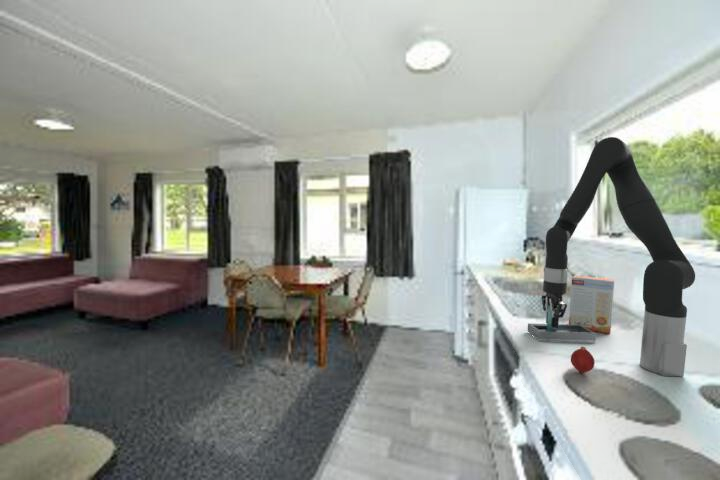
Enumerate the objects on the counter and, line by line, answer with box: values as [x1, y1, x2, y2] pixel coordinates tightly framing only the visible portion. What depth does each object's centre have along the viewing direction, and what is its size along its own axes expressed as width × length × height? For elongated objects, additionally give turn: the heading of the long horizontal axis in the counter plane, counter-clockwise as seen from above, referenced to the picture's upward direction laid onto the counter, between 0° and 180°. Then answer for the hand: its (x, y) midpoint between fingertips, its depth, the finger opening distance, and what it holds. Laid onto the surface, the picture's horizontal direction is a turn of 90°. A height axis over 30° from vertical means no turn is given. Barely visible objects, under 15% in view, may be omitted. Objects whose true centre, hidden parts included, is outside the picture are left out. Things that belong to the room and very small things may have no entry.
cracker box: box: [568, 275, 615, 335], centre depth 137 cm, size 14×6×21 cm, turn 52°
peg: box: [543, 306, 557, 330], centre depth 127 cm, size 6×6×10 cm
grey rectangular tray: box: [527, 323, 597, 344], centre depth 127 cm, size 9×20×4 cm, turn 88°
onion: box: [570, 346, 595, 374], centre depth 98 cm, size 6×6×8 cm
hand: (551, 325), depth 127 cm, fingers closed on peg, 3 cm apart
